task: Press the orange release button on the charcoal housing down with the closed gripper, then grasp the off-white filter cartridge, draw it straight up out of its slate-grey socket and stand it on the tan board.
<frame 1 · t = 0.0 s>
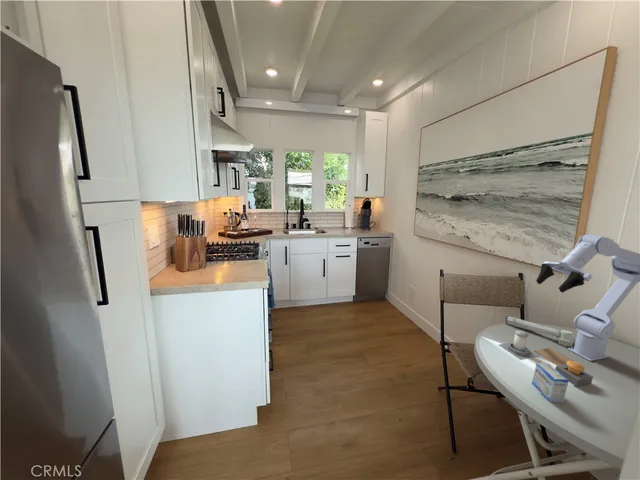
hand: (548, 286, 94), 32 cm above the table, tool tilted 50°, fingers open, 7 cm apart
cartridge socket: (518, 350, 110), on the table
medicine box: (546, 393, 88), on the table
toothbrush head: (537, 335, 121), on the table, touching arm
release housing: (572, 378, 95), on the table
tan board: (554, 357, 105), on the table
release button: (574, 369, 94), point 4 cm above the table, slide at 0.0 cm
filter cartridge: (520, 341, 109), in the cartridge socket
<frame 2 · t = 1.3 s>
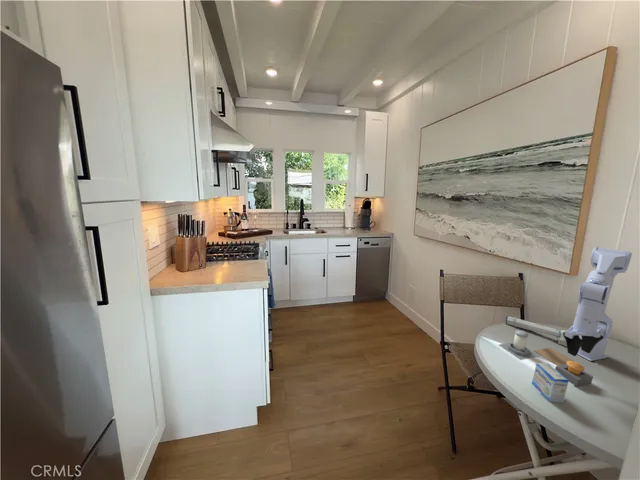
hand: (578, 352, 92), 10 cm above the table, tool pointing down, fingers open, 6 cm apart
nothing on the table moved.
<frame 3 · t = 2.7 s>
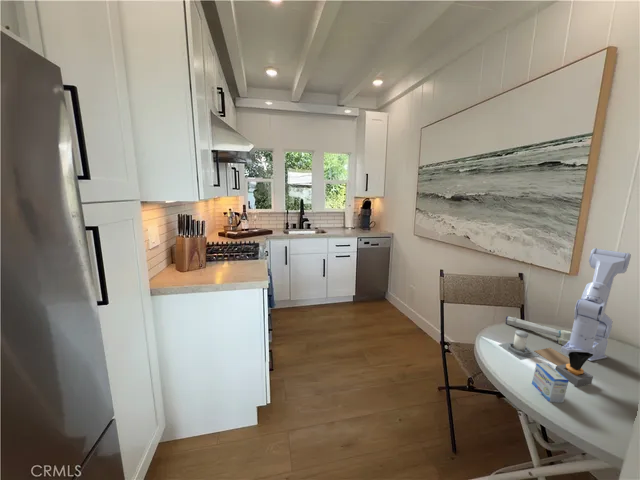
hand: (574, 368, 94), 4 cm above the table, tool pointing down, fingers closed, pressing on release button
release button: (573, 372, 94), point 2 cm above the table, slide at 1.1 cm, touching gripper
everything else where it was.
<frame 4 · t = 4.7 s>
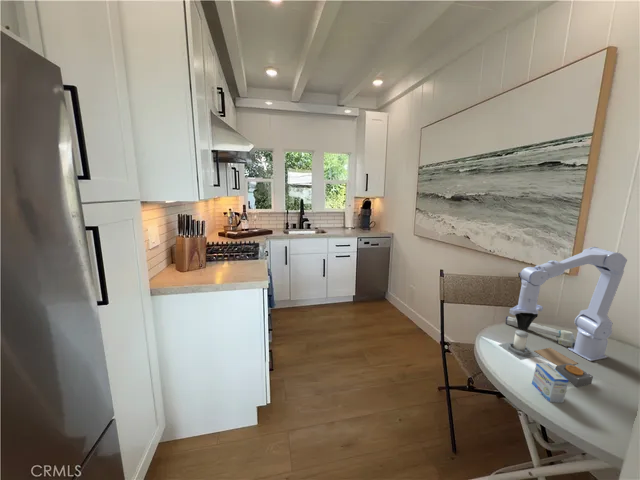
hand: (522, 328, 107), 10 cm above the table, tool pointing down, fingers closed
release button: (573, 373, 94), point 2 cm above the table, slide at 1.6 cm
everything else where it was.
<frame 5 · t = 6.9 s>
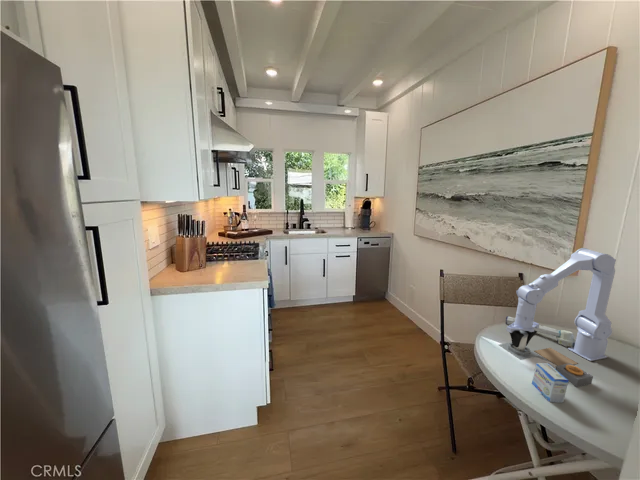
hand: (519, 345, 109), 3 cm above the table, tool pointing down, fingers closed on filter cartridge, 4 cm apart
filter cartridge: (520, 341, 109), in the cartridge socket, touching gripper
everything else where it was.
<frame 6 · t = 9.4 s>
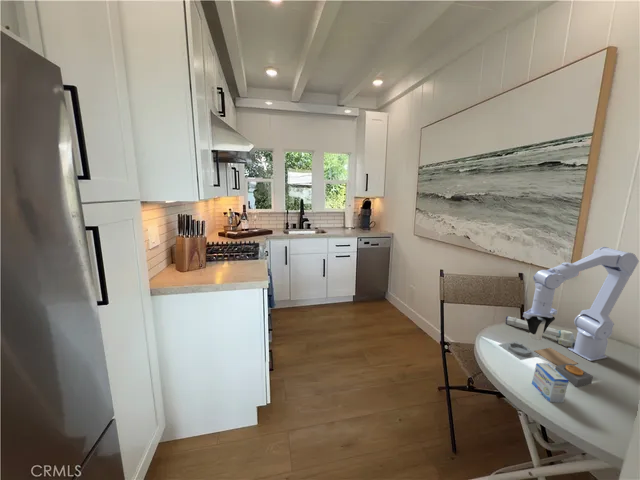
hand: (536, 332, 106), 10 cm above the table, tool pointing down, fingers closed on filter cartridge, 4 cm apart
filter cartridge: (537, 328, 106), point 12 cm above the table, touching gripper
everything else where it was.
when the fingers open (4 cm above the table, at t = 11.9 s): filter cartridge stays where it is, resting on tan board.
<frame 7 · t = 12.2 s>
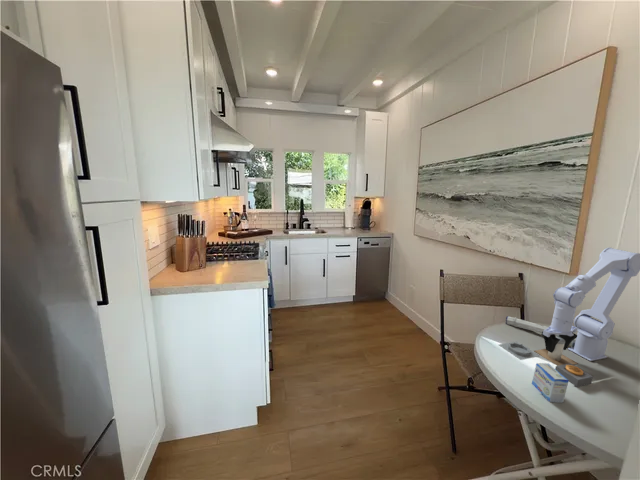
hand: (555, 349, 104), 4 cm above the table, tool pointing down, fingers open, 6 cm apart
filter cartridge: (556, 348, 104), on the tan board
everything else where it was.
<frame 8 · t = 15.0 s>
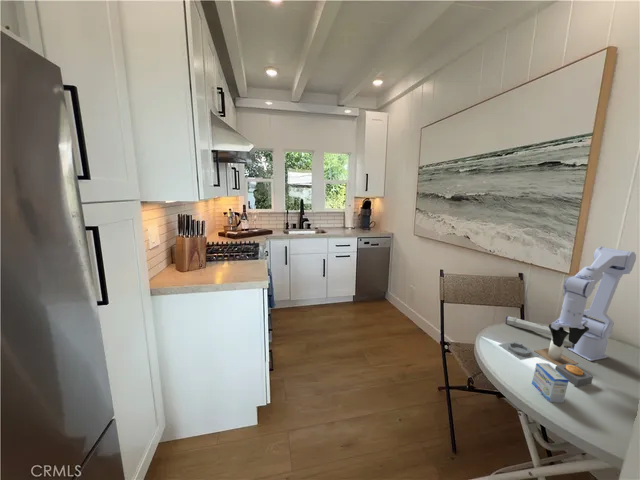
hand: (564, 344, 97), 10 cm above the table, tool pointing down, fingers open, 7 cm apart
nothing on the table moved.
at the end: release button slide at 1.6 cm; filter cartridge inside the target area (0.2 cm from its centre), point 4.5 cm above the table; filter cartridge tilted 1° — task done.
